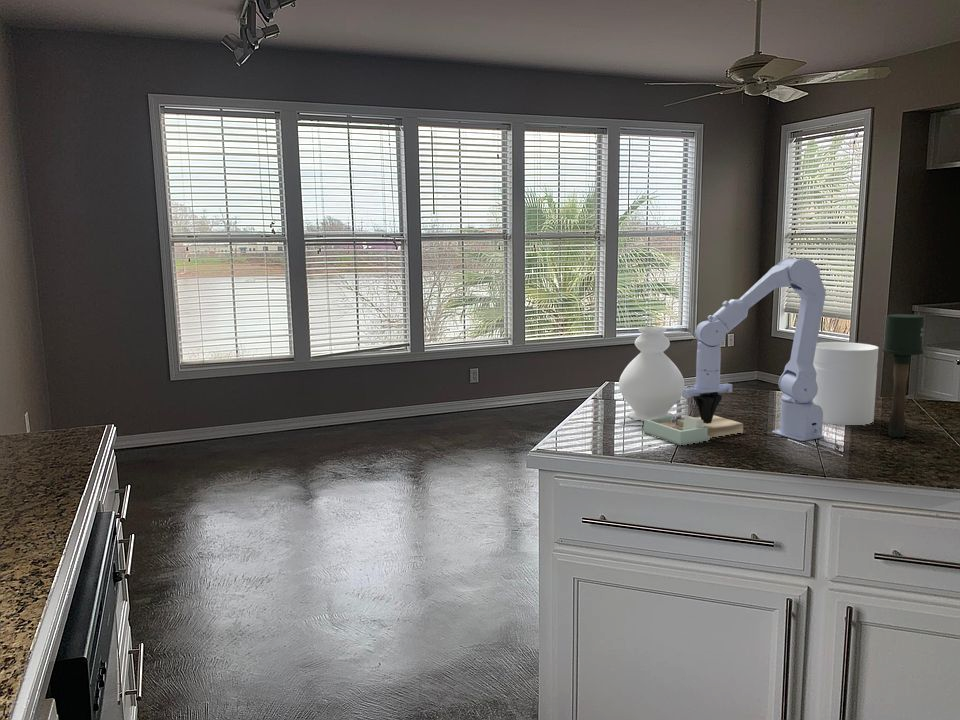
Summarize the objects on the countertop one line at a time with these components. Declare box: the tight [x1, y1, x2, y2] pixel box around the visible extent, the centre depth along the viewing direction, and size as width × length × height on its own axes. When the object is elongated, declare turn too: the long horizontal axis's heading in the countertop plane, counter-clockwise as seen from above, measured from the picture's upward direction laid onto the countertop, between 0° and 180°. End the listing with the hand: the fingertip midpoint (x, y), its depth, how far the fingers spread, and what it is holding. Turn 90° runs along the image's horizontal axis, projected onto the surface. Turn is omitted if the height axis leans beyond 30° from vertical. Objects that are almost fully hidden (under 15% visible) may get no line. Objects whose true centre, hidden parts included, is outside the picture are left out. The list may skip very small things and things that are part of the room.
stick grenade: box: [882, 313, 925, 439], centre depth 179 cm, size 8×9×30 cm
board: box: [676, 414, 744, 439], centre depth 189 cm, size 11×12×2 cm
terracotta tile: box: [659, 422, 678, 429], centre depth 187 cm, size 4×4×2 cm
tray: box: [643, 416, 711, 447], centre depth 184 cm, size 14×9×4 cm, turn 26°
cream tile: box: [683, 415, 703, 430], centre depth 183 cm, size 4×4×2 cm
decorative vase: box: [618, 326, 685, 422], centre depth 204 cm, size 18×18×25 cm
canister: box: [813, 341, 880, 426], centre depth 198 cm, size 16×16×20 cm
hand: (706, 422), depth 184 cm, fingers closed
